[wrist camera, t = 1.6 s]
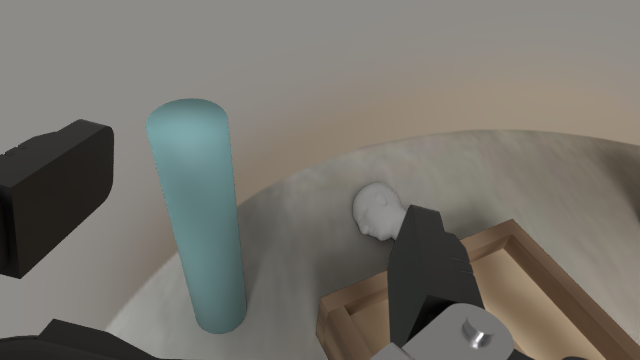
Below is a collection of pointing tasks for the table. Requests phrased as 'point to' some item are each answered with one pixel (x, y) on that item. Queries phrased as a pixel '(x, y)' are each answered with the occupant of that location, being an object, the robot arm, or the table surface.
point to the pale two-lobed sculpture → (378, 211)
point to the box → (489, 305)
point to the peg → (201, 206)
